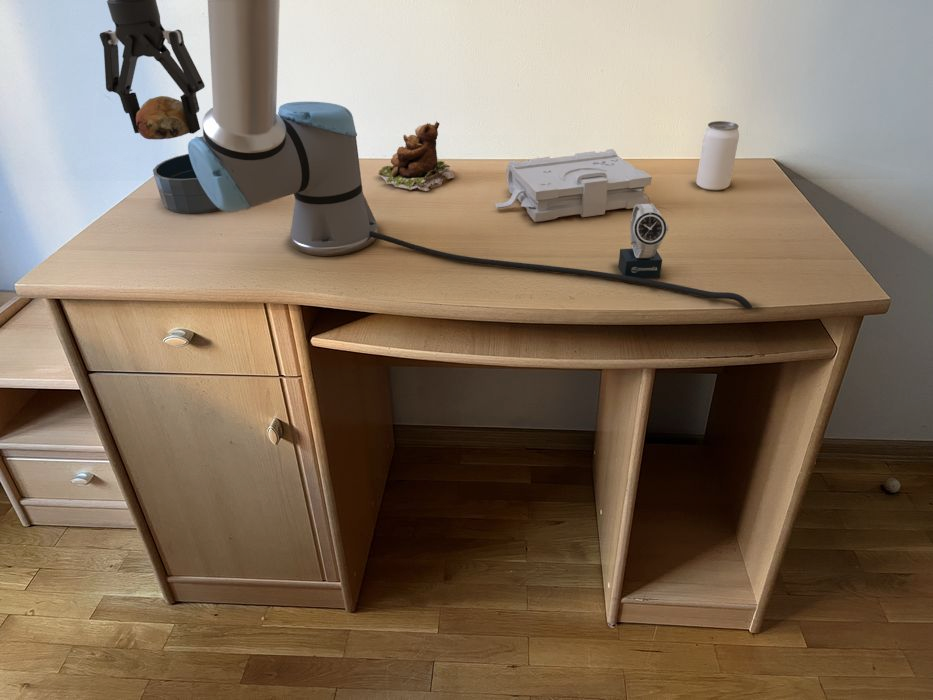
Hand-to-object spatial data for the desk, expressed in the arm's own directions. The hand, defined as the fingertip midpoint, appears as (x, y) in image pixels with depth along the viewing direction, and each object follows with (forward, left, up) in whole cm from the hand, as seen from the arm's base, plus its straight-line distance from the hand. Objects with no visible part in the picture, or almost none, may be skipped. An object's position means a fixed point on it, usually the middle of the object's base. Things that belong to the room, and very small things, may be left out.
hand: (167, 131), depth 124 cm
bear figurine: (-18, -43, -16) cm, 49 cm away
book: (-49, -55, -16) cm, 75 cm away
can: (-65, -82, -16) cm, 106 cm away
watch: (-77, -41, -16) cm, 89 cm away
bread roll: (0, 0, 0) cm, 0 cm away
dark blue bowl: (+5, -6, -16) cm, 17 cm away
